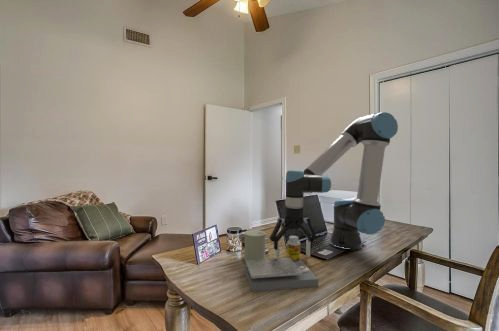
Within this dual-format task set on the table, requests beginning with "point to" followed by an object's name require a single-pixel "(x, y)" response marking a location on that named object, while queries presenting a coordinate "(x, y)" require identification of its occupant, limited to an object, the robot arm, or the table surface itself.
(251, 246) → the can
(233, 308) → the table surface
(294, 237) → the supplement bottle
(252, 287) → the scale base
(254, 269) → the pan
